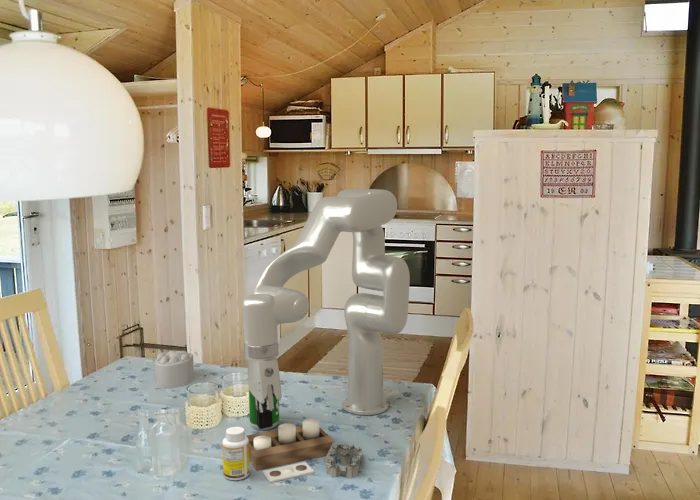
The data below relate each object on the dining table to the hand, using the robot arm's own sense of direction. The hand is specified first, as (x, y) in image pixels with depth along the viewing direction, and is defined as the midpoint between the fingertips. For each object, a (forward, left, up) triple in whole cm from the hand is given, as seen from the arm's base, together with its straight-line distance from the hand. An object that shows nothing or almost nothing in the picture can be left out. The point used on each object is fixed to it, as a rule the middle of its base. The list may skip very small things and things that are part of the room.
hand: (264, 426), depth 149 cm
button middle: (-5, 0, -4) cm, 7 cm away
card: (-2, +10, -7) cm, 13 cm away
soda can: (-5, -16, -7) cm, 18 cm away
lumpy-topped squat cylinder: (+9, -61, -7) cm, 62 cm away
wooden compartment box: (-5, 0, -7) cm, 9 cm away
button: (-11, 0, -4) cm, 12 cm away
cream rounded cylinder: (+1, 0, -6) cm, 6 cm away
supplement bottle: (+9, +7, -7) cm, 13 cm away
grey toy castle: (-14, +13, -7) cm, 20 cm away
